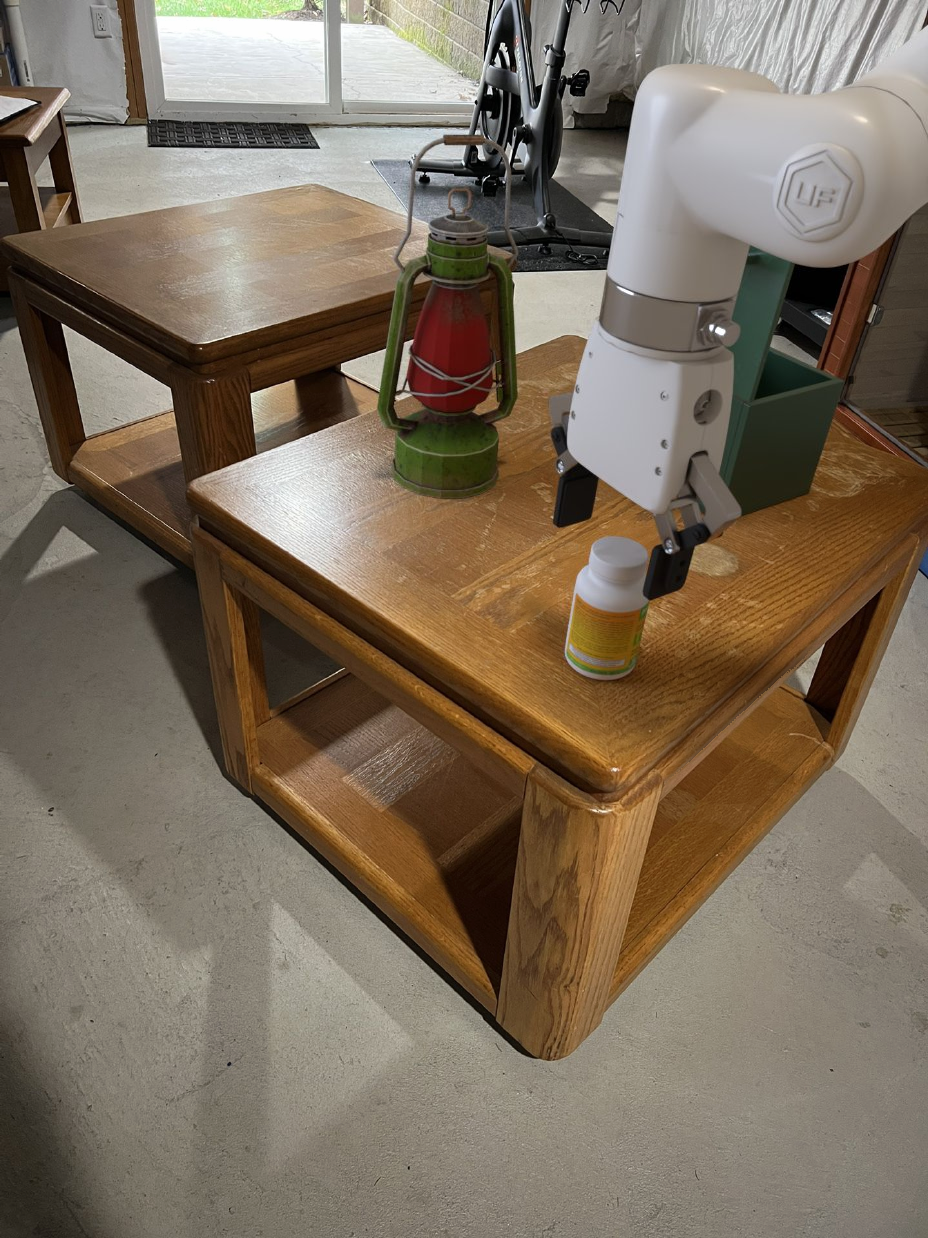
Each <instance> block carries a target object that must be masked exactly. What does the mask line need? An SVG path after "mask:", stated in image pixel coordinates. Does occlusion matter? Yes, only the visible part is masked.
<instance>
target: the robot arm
mask: <svg viewBox="0 0 928 1238" xmlns="http://www.w3.org/2000/svg"><path fill="white" fill-rule="evenodd" d="M926 204H928V24H926V26H924V27H923V28H922V29H921V30H920V31H918V32H917V33H916V34H915V35H913V36H912V37H911V38H909V39H908V40H907V41H905V42H904V44H902V45H900V46H899V47H898V48H897V49H896V50H895V51H893V52H892V53H891V54H889V55H888V56H886V58H885V59H883V60H882V61H880V62H879V63H878V64H877V65H875V66H874V67H873V68H872V69H870V70H869V71H867V72H866V73H865V74H863V76H861V77H859V78H858V79H857V80H856V81H854V82H852V83H850V84H848V85H845V86H843V87H840V88H837V89H835V90H831V91H826V92H821V93H814V94H812V93H810V94H807V93H806V94H805V93H804V94H802V93H800V94H798V93H797V94H796V93H782V92H781V90H780V88H779V86H778V85H777V84H776V82H775V81H773V80H772V79H770V78H768V77H767V76H765V75H763V74H760V73H756V72H753V71H750V70H747V69H743V68H742V69H741V68H736V67H731V66H730V67H729V66H723V65H716V64H704V63H671V64H666V65H662V66H659V67H656V68H654V69H653V70H651V71H650V72H649V73H647V75H646V76H645V77H644V78H643V80H642V82H641V83H640V86H639V87H638V90H637V92H636V96H635V100H634V105H633V109H632V114H631V120H630V127H629V132H628V139H627V145H626V150H625V157H624V163H623V170H622V174H621V182H620V188H619V194H618V200H617V204H616V205H617V206H616V212H615V217H614V218H615V219H614V224H613V229H612V230H613V231H612V235H611V236H612V237H611V242H610V249H609V255H608V261H607V267H606V273H605V280H604V284H603V285H604V286H603V290H602V297H601V304H600V310H599V314H598V315H597V316H596V318H595V319H594V322H593V324H592V326H591V329H590V332H589V335H588V338H587V341H586V344H585V347H584V350H583V354H582V356H581V361H580V364H579V367H578V372H577V376H576V380H575V383H574V389H573V392H565V393H559V394H556V395H552V396H549V398H548V400H547V402H548V405H547V406H548V410H549V416H550V417H549V418H550V423H551V426H553V427H552V428H551V432H550V438H551V441H552V444H553V447H554V449H555V453H556V455H557V457H556V458H555V460H554V468H555V471H556V472H557V474H559V475H561V476H559V478H558V485H557V491H556V498H555V505H554V511H553V515H552V525H554V526H555V527H556V528H558V529H562V528H563V529H564V528H565V527H569V526H573V525H576V524H579V523H583V522H586V521H588V520H591V518H592V517H593V512H594V508H595V501H596V495H597V491H598V486H599V485H598V484H599V479H600V480H602V481H603V482H605V483H606V484H608V485H609V486H610V487H612V488H613V489H614V490H616V491H617V492H619V493H620V494H621V495H623V496H624V497H626V498H628V499H629V500H630V501H632V502H633V503H635V504H636V505H638V506H639V507H641V508H642V509H643V510H645V511H648V512H649V513H652V516H653V519H654V520H653V521H654V524H655V526H656V530H657V533H658V537H659V540H660V544H656V545H654V546H653V548H652V549H651V553H650V556H649V557H650V558H649V560H648V565H647V569H646V573H645V574H646V578H645V582H644V587H643V591H642V592H643V596H644V597H646V598H647V599H648V600H650V602H651V601H653V600H657V599H659V598H662V597H665V596H667V595H670V594H673V593H675V592H678V591H680V590H682V588H683V587H684V586H685V583H686V581H687V578H688V574H689V571H690V566H691V564H692V560H693V559H692V558H693V556H694V552H695V548H696V547H697V546H700V545H703V544H705V543H708V542H710V541H713V540H716V539H719V538H721V537H722V536H723V535H724V532H725V531H727V530H728V529H729V528H730V527H732V525H733V524H735V523H736V522H737V521H738V520H739V519H740V518H741V517H742V516H741V508H740V506H739V504H738V502H737V501H736V499H735V498H734V496H733V495H732V493H731V492H730V490H729V489H728V487H727V486H726V484H725V483H724V481H723V480H722V478H721V476H720V475H719V471H720V466H721V462H722V457H723V452H724V447H725V442H726V437H727V431H728V425H729V419H730V412H731V403H732V394H733V377H734V354H733V353H732V352H731V351H729V350H728V349H726V348H725V347H730V346H732V345H734V344H735V342H736V341H737V340H738V338H739V336H740V331H741V328H740V326H739V325H738V324H737V323H735V322H732V315H733V311H734V307H735V303H736V299H737V295H738V290H739V287H740V283H741V279H742V275H743V271H744V267H745V263H746V259H747V255H748V252H749V248H750V245H751V246H753V247H756V248H758V249H760V250H762V251H765V252H767V253H769V254H772V255H774V256H776V257H779V258H782V259H784V260H787V261H789V262H793V263H795V265H800V266H805V267H810V268H835V267H841V266H843V265H847V264H851V263H854V262H857V261H859V260H861V259H863V258H865V257H866V256H868V255H869V254H871V253H873V252H875V251H876V250H877V249H878V248H879V247H881V246H882V245H883V244H885V242H886V241H887V240H888V239H890V238H891V236H892V235H894V234H895V233H896V232H897V231H898V230H899V229H900V228H901V227H902V226H903V224H904V223H905V222H906V221H908V219H909V218H910V217H911V216H913V214H914V213H916V212H917V211H918V210H919V209H921V208H922V207H923V206H924V205H926ZM724 346H725V347H724ZM697 500H698V501H701V502H702V503H703V505H704V507H705V514H703V516H702V512H701V511H700V509H699V505H698V502H697ZM674 510H675V511H676V510H679V512H680V515H681V519H682V522H683V526H684V528H683V529H680V530H678V527H677V523H676V519H675V516H674V513H673V511H674Z"/></svg>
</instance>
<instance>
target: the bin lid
mask: <svg viewBox="0 0 928 1238" xmlns="http://www.w3.org/2000/svg"><path fill="white" fill-rule="evenodd" d="M795 265H796V263H793V262H789V261H787V260H784V259H782V258H779V257H776V256H774V255H772V254H769V253H767V252H765V251H762V250H760V249H758V248H756V247H753V246H751V245H750V248H749V252H748V255H747V259H746V263H745V267H744V271H743V275H742V279H741V283H740V287H739V290H738V295H737V299H736V303H735V307H734V311H733V315H732V322H735V323H737V324H738V325H739V326H740V328H741V331H740V336H739V338H738V340H737V341H736V342H735V344H734V345H732V346H730V347H725V346H724V347H725V348H726V349H728V350H729V351H731V352H732V353H733V354H734V377H733V395H735V396H737V397H739V398H741V399H743V400H745V401H747V402H753V401H754V398H755V395H756V391H757V388H758V385H759V381H760V378H761V375H762V371H763V368H764V365H765V362H766V358H767V355H768V352H769V348H770V347H771V346H772V345H771V344H772V341H773V338H774V335H775V332H776V328H777V326H778V325H777V324H778V322H779V318H780V315H781V312H782V308H783V304H784V301H785V299H786V295H787V291H788V288H789V285H790V281H791V279H792V275H793V272H794V268H795Z"/></svg>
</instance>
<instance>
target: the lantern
mask: <svg viewBox="0 0 928 1238" xmlns="http://www.w3.org/2000/svg"><path fill="white" fill-rule="evenodd" d="M442 144H443V145H444V146H483V145H484V144H485V145H488V146H490V147H492V148H493V149H495V150H496V151H497V152H499V155H500V156H501V158H502V159H503V162H504V167H505V170H506V175H505V179H506V180H505V203H504V204H505V205H504V206H505V207H504V232H505V234H506V237H507V239H508V242H509V245H510V246H511V248H512V250H513V254H512V256H511V257H510V259H508V261H506V260H505V258H504V257H503V256H501V255H498V254H494V253H491V252H489V251H488V238H487V237H488V236H486V235H487V234H488V233H489V226H488V225H487V223H484V222H483V221H481V220H478V219H477V218H474V217H473V216H470V215H467V214H466V211H467V210H469V209H471V206H472V197H473V196H472V192H471V190H469V188H468V187H464V188H463V187H462V188H455V187H453V188H452V189H451V190H449V192H448V195H447V208H448V210H449V211H451V213H449V214H446V215H443V216H440V217H437V218H433V219H431V220H430V221H429V222H428V226H427V227H428V230H429V231H430V233H428V234H427V247H426V250H425V251H426V252H425V254H424V255H421V256H417V257H416V258H412V259H410V260H408V262H407V263H406V264H405V266H403V263H402V262H401V261H400V259H399V257H400V254H401V253H402V251H403V249H404V247H405V245H406V243H407V241H408V240H409V238H410V236H411V234H412V224H413V214H414V213H413V211H414V199H415V197H414V196H415V183H416V173H417V170H418V167H419V164H420V162H421V160H422V158H423V157H424V156H425V155H426V153H427V152H428V151H429V150H431V149H433V148H434V147H436V146H439V145H442ZM412 164H413V165H412V167H411V169H410V178H409V189H408V190H409V192H408V207H407V219H406V222H407V223H406V231H405V233H404V235H403V237H402V239H401V240H400V243H399V244H398V247H397V249H395V252H394V254H393V257H392V258H393V261H394V263H395V265H396V266H397V268H398V269H399V271H400V273H399V275H398V276H397V278H396V282H395V289H394V294H393V295H394V296H393V302H392V309H391V313H390V314H391V315H390V321H389V329H388V333H387V334H388V335H387V341H386V348H385V353H384V361H383V366H382V373H381V379H380V386H379V391H378V392H379V393H378V399H377V406H376V410H377V413H378V416H379V419H380V422H381V425H382V427H383V429H387V430H391V431H394V432H395V434H394V435H395V436H394V443H395V444H394V458H393V459H392V462H391V472H392V478H393V479H394V480H395V481H396V482H397V483H398V484H399V485H400V486H401V487H402V488H404V489H407V490H408V491H411V492H414V493H415V494H418V495H419V496H426V497H432V498H436V499H465V498H468V497H473V496H478V495H482V494H483V493H485V492H486V491H488V490H489V489H491V488H493V487H494V486H495V485H496V483H497V481H498V479H499V476H500V475H499V474H500V472H499V466H498V456H499V455H498V454H499V444H500V434H499V432H498V428H497V426H496V425H494V424H495V423H497V422H499V421H502V420H503V419H506V418H508V417H510V416H511V414H512V411H513V409H514V406H515V404H516V402H517V400H518V397H519V395H518V370H517V369H518V368H517V349H516V325H515V323H516V322H515V307H514V306H515V305H514V304H515V302H514V300H515V299H514V282H513V281H514V280H513V273H512V270H511V268H510V267H511V266H512V264H513V263H514V262H515V260H516V259H517V258H518V256H519V250H518V247H517V245H516V242H515V240H514V237H513V235H512V233H511V230H510V208H511V186H512V185H511V182H512V168H511V164H510V160H509V157H508V155H507V153H506V151H505V149H503V147H502V146H501V145H499V144H498V143H497V142H496V141H494V140H492V139H489V138H486V137H485V135H484V134H443V135H442V137H440V138H438V139H437V138H436V139H435V140H432V141H431V142H429V143H428V144H426V145H425V146H423V147H422V148H421V150H420V151H419V152H418V154H417V155H416V156H415V158H414V161H413V163H412ZM454 192H466V193H467V194H468V201H467V206H465V207H463V209H462V211H460V212H456V209H455V207H453V206H451V201H452V195H453V193H454ZM491 273H492V274H493V275H494V279H495V291H496V310H497V326H498V327H497V329H498V346H499V360H498V361H497V360H496V354H495V350H494V348H492V347H491V343H490V341H491V340H490V333H489V328H488V323H487V318H486V312H485V307H484V303H483V300H482V296H481V293H480V290H479V286H478V285H479V283H482V282H483V281H487V280H488V279H489V277H490V276H491ZM421 274H422V275H424V276H425V277H427V279H431V280H432V282H431V285H430V287H429V289H428V292H427V294H426V297H425V300H424V302H423V305H422V308H421V312H420V314H419V317H418V321H417V324H416V327H415V331H414V335H413V341H412V344H410V345H409V348H408V352H407V353H408V355H409V361H408V365H407V371H406V376H405V378H404V381H403V384H402V388H401V389H398V384H399V378H400V372H401V366H402V361H403V360H402V359H403V353H404V347H405V343H406V342H405V340H406V335H407V328H408V324H409V323H408V322H409V316H410V310H411V305H412V304H411V303H412V300H413V299H412V298H413V293H414V285H415V282H416V280H417V278H418V277H419V276H420V275H421ZM493 369H494V370H495V371H494V373H495V378H494V376H493V375H494V374H493ZM494 384H495V385H494ZM407 385H408V389H409V390H407V389H406V386H407ZM493 385H494V386H493ZM397 389H398V390H397ZM494 390H495V391H496V393H495V394H496V402H497V403H498V406H497V408H494V409H493V410H489V411H486V412H483V413H481V414H477V413H476V412H475V410H476V408H477V406H479V405H480V404H482V403H483V402H486V400H487V399H488V397H489V395H490V393H491V391H494ZM403 393H404V394H409V395H411V396H412V397H413V398H414V399H416V400H417V401H418V402H419V403H421V407H422V408H423V409H420V410H418V411H415V412H413V413H410V414H409V415H407V416H405V417H398V415H397V412H396V409H395V402H396V397H397V396H400V395H402V394H403Z"/></svg>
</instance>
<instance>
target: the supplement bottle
mask: <svg viewBox="0 0 928 1238" xmlns="http://www.w3.org/2000/svg"><path fill="white" fill-rule="evenodd" d="M649 557H650V556H649V552H648V550H647V548H645V546H644V545H642V544H641V543H639V542H638V541H636V540H634V539H631V538H628V537H624V536H617V535H616V536H614V535H613V536H604V537H601V538H598V539H597V540H595V541H594V542H593V543H592V545H591V548H590V553H589V556H588V564H587V565H585V566H583V568H581V570H580V571H579V572H578V574H577V576H576V580H575V583H574V584H575V585H574V590H573V594H572V595H573V596H572V601H571V608H570V613H569V620H568V626H567V632H566V638H565V646H564V656H565V660H566V661H567V663H568V664H569V666H570V667H571V668H572V669H573V670H575V671H576V672H577V673H579V674H580V675H583V676H584V677H587V678H590V679H593V680H599V681H613V680H618V679H621V678H623V677H626V676H627V675H629V674H630V673H631V672H632V671H633V670H634V668H635V666H636V664H637V659H638V655H639V651H640V646H641V642H642V637H643V632H644V628H645V624H646V619H647V615H648V610H649V606H650V602H651V601H650V600H648V599H647V598H646V597H644V596H643V592H642V591H643V587H644V582H645V578H646V574H647V570H648V565H649V559H650V558H649Z"/></svg>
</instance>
